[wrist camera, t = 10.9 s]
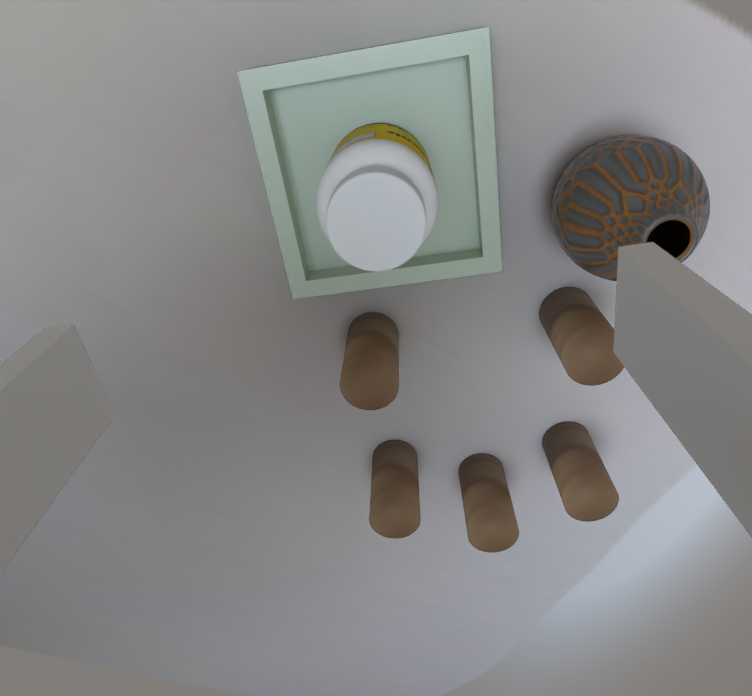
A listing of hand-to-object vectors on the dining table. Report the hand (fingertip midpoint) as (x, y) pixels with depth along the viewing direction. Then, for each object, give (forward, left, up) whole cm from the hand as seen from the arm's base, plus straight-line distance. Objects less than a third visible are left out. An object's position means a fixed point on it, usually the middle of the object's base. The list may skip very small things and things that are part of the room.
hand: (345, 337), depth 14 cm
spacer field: (+4, -15, -20) cm, 25 cm away
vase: (+12, -3, -20) cm, 24 cm away
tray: (0, 0, -20) cm, 20 cm away
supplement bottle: (0, 0, -19) cm, 19 cm away
